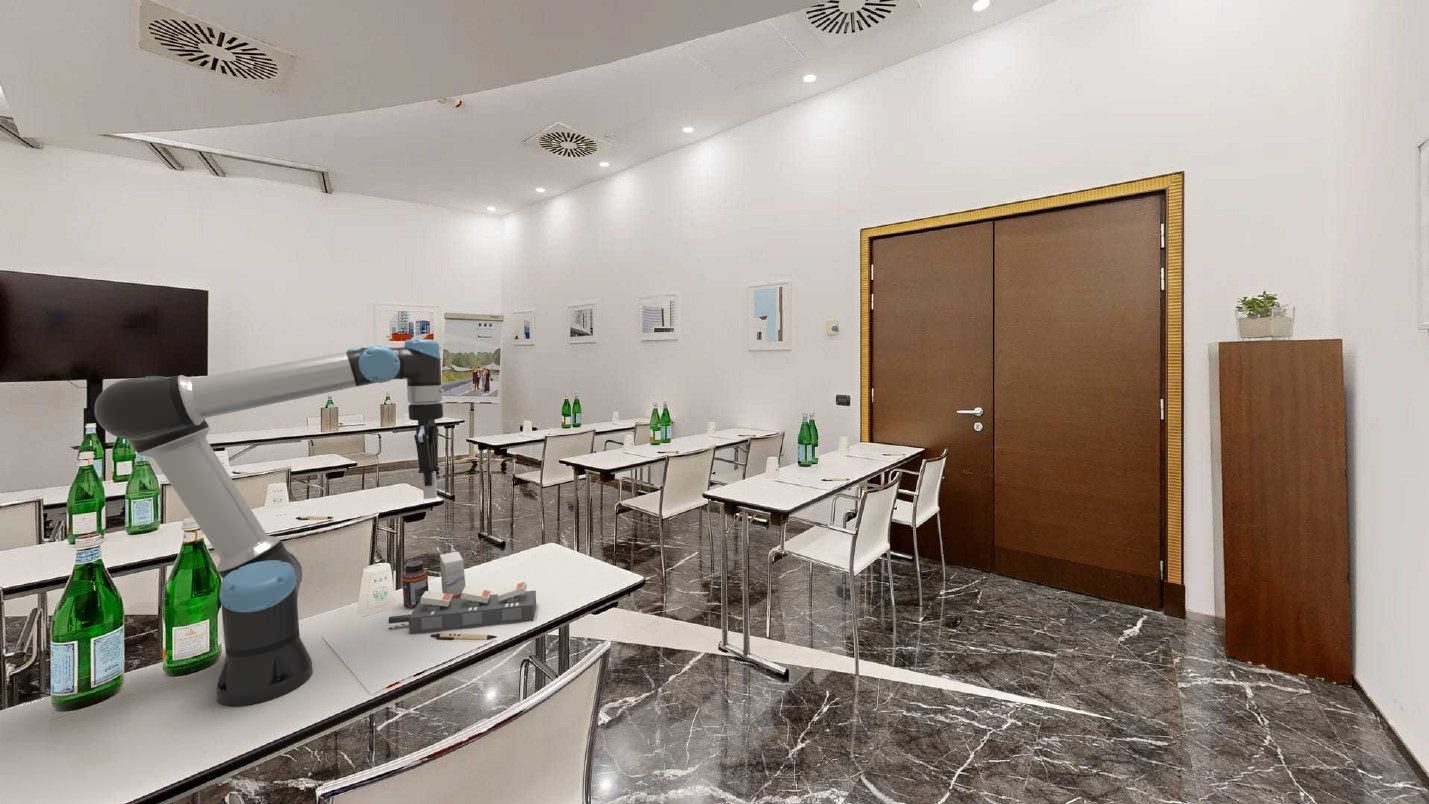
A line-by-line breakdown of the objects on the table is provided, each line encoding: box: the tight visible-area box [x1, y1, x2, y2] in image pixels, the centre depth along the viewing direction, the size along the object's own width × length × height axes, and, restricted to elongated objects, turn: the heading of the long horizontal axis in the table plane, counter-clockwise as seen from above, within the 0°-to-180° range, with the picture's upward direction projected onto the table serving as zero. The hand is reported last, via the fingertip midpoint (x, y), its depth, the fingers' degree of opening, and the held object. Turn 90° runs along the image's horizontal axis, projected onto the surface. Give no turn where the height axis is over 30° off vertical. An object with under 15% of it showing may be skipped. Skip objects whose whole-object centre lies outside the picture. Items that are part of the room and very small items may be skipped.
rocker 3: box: [497, 581, 528, 601], centre depth 143 cm, size 6×4×2 cm, turn 102°
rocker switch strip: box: [388, 590, 537, 635], centre depth 141 cm, size 34×9×5 cm, turn 103°
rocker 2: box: [461, 586, 492, 603], centre depth 141 cm, size 6×4×2 cm, turn 104°
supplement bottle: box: [401, 560, 429, 610], centre depth 150 cm, size 6×6×11 cm
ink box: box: [439, 551, 467, 599], centre depth 153 cm, size 9×5×12 cm, turn 34°
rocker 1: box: [420, 590, 453, 607], centre depth 139 cm, size 6×4×2 cm, turn 104°
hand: (430, 497), depth 141 cm, fingers closed
